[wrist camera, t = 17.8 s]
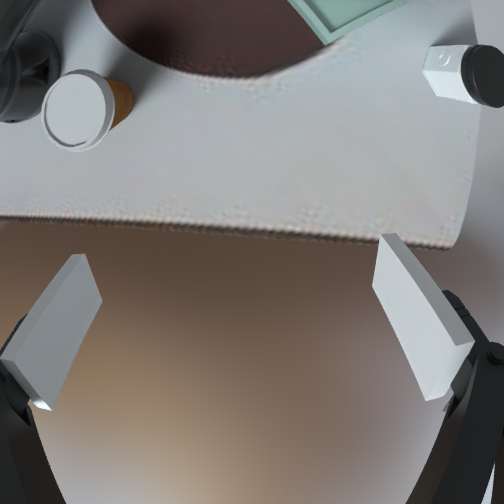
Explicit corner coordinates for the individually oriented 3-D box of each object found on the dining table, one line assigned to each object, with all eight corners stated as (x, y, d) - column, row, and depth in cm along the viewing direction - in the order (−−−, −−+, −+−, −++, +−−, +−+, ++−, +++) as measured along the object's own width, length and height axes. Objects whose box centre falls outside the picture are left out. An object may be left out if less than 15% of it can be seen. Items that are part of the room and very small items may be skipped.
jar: (431, 34, 32) (481, 29, 21) (469, 62, 33) (520, 67, 23) (415, 82, 36) (463, 88, 26) (454, 108, 37) (503, 122, 27)
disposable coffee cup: (91, 141, 40) (48, 163, 29) (79, 81, 35) (31, 86, 25) (150, 126, 39) (117, 143, 29) (139, 61, 35) (102, 57, 24)
